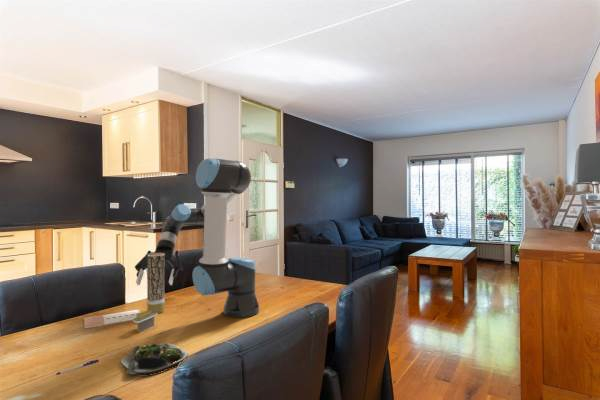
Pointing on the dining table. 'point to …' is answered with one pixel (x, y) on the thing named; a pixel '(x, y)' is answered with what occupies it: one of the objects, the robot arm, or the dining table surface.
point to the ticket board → (110, 318)
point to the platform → (145, 320)
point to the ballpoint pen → (79, 366)
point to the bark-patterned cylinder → (155, 282)
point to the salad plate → (153, 358)
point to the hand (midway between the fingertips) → (153, 283)
